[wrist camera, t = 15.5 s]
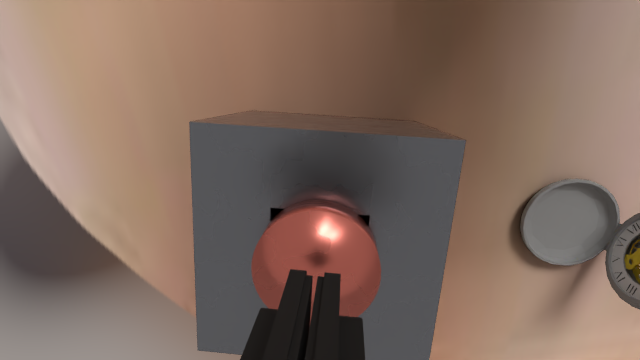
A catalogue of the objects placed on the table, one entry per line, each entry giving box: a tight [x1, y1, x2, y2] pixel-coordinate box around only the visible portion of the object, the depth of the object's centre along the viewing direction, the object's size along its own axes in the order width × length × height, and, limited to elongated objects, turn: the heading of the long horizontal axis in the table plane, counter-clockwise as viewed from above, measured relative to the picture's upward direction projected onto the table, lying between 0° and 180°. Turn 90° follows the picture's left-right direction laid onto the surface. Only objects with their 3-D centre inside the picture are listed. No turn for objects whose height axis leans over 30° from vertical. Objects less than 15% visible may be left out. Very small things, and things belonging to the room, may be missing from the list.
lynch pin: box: [251, 200, 381, 323], centre depth 20 cm, size 6×6×12 cm
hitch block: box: [189, 111, 466, 360], centre depth 21 cm, size 12×12×10 cm
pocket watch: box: [520, 179, 640, 309], centre depth 21 cm, size 8×8×10 cm
